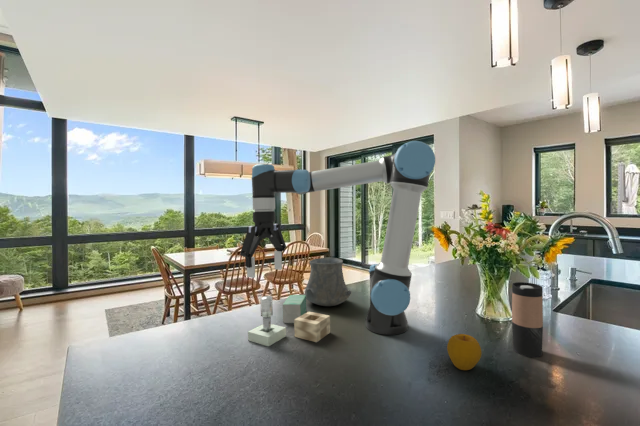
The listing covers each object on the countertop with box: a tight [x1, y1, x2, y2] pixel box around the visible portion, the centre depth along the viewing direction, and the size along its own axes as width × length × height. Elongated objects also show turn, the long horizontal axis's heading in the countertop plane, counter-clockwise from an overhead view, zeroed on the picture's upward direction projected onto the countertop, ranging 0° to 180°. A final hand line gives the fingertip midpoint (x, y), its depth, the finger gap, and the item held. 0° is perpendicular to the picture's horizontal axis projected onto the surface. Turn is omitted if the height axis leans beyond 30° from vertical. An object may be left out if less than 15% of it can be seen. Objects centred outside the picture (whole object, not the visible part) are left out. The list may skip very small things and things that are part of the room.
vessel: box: [303, 257, 352, 307], centre depth 141 cm, size 22×22×20 cm
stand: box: [247, 323, 287, 347], centre depth 105 cm, size 9×9×3 cm
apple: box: [446, 333, 483, 371], centre depth 84 cm, size 8×8×9 cm
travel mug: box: [511, 281, 544, 358], centre depth 92 cm, size 8×8×20 cm
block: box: [293, 311, 331, 343], centre depth 107 cm, size 9×9×6 cm
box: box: [282, 294, 307, 324], centre depth 125 cm, size 7×14×8 cm, turn 174°
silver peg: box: [260, 295, 274, 333], centre depth 105 cm, size 4×4×14 cm
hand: (265, 273), depth 105 cm, fingers open, 13 cm apart
